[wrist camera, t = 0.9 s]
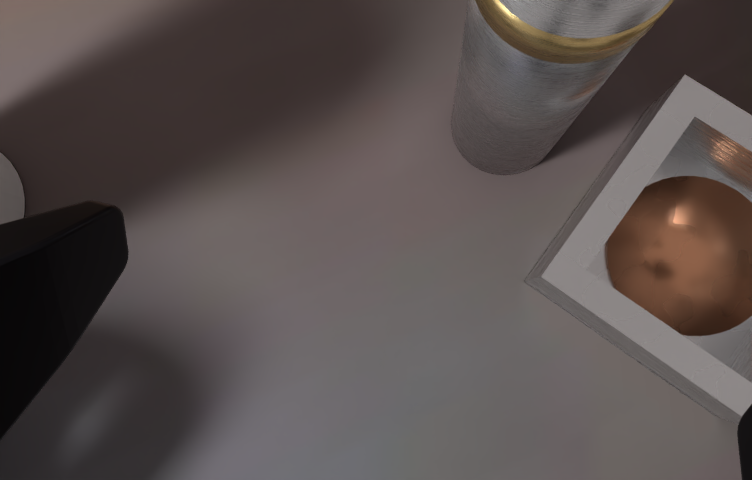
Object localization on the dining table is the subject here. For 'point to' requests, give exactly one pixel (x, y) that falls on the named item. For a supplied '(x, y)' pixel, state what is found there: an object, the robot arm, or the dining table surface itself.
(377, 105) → the dining table surface
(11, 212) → the coffee cup
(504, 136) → the tube
